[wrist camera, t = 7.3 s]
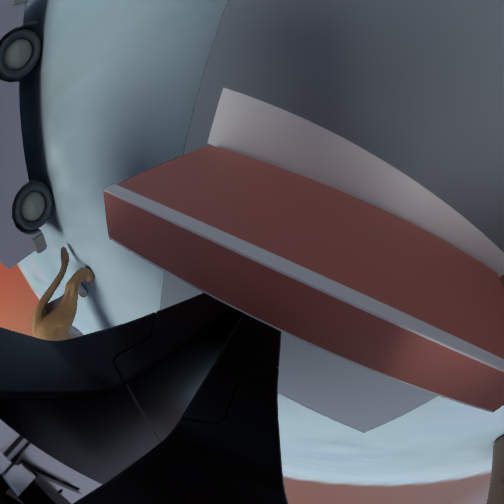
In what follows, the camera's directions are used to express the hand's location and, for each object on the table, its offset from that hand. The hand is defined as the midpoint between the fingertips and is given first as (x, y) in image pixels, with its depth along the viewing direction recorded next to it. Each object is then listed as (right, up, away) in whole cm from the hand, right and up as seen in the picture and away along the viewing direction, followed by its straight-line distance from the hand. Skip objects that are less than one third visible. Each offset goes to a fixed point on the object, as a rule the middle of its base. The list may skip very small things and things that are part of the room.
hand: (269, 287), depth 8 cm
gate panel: (+2, +2, -1) cm, 3 cm away
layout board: (+4, +1, 0) cm, 4 cm away
